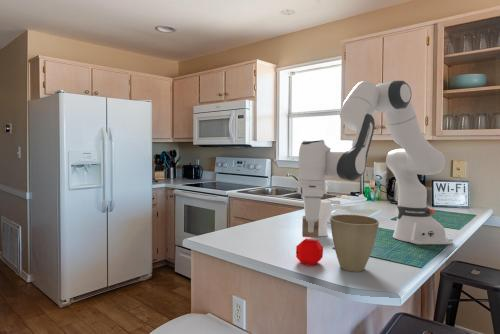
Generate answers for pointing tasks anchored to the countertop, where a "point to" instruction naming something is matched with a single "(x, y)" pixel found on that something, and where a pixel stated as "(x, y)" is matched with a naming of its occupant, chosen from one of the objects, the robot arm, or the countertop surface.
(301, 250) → the ball
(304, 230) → the walnut block
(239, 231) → the countertop surface
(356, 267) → the plant pot
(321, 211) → the cup
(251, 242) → the countertop surface
